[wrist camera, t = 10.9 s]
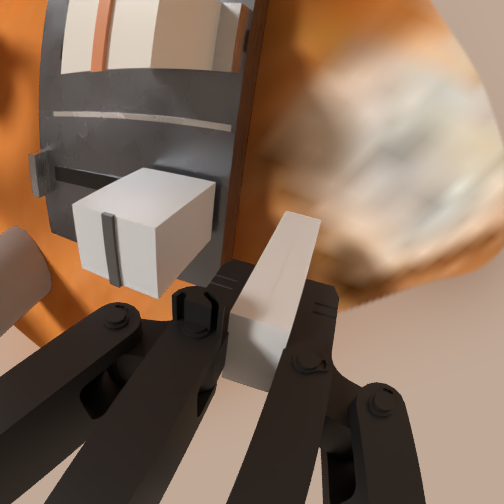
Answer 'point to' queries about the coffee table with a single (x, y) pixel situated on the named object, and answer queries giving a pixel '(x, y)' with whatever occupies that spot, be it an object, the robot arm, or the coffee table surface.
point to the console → (150, 126)
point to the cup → (20, 276)
